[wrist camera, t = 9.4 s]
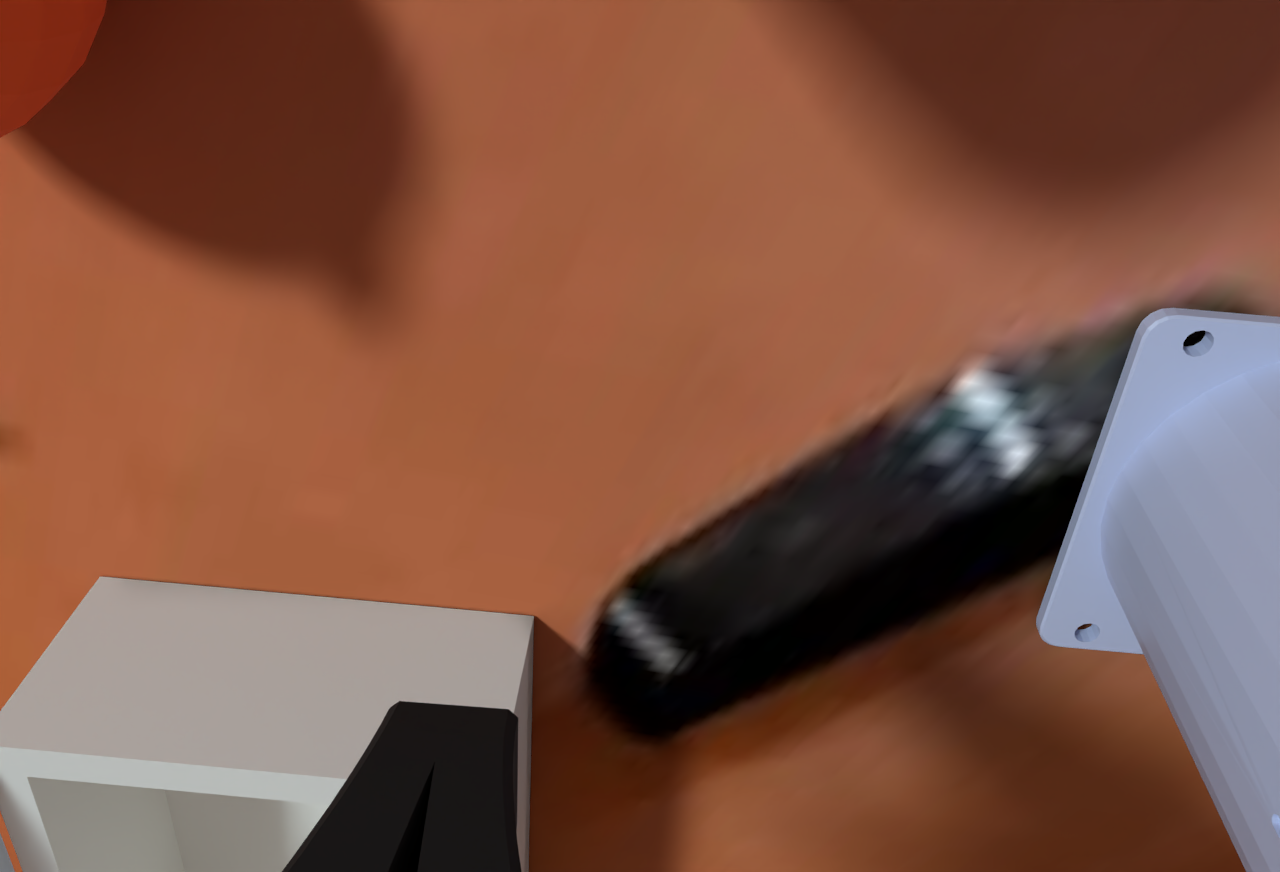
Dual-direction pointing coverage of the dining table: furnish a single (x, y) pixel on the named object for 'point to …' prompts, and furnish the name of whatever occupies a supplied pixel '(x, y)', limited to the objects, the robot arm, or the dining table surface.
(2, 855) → the carton flap
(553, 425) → the dining table surface
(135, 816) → the carton
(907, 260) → the dining table surface
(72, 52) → the clementine
